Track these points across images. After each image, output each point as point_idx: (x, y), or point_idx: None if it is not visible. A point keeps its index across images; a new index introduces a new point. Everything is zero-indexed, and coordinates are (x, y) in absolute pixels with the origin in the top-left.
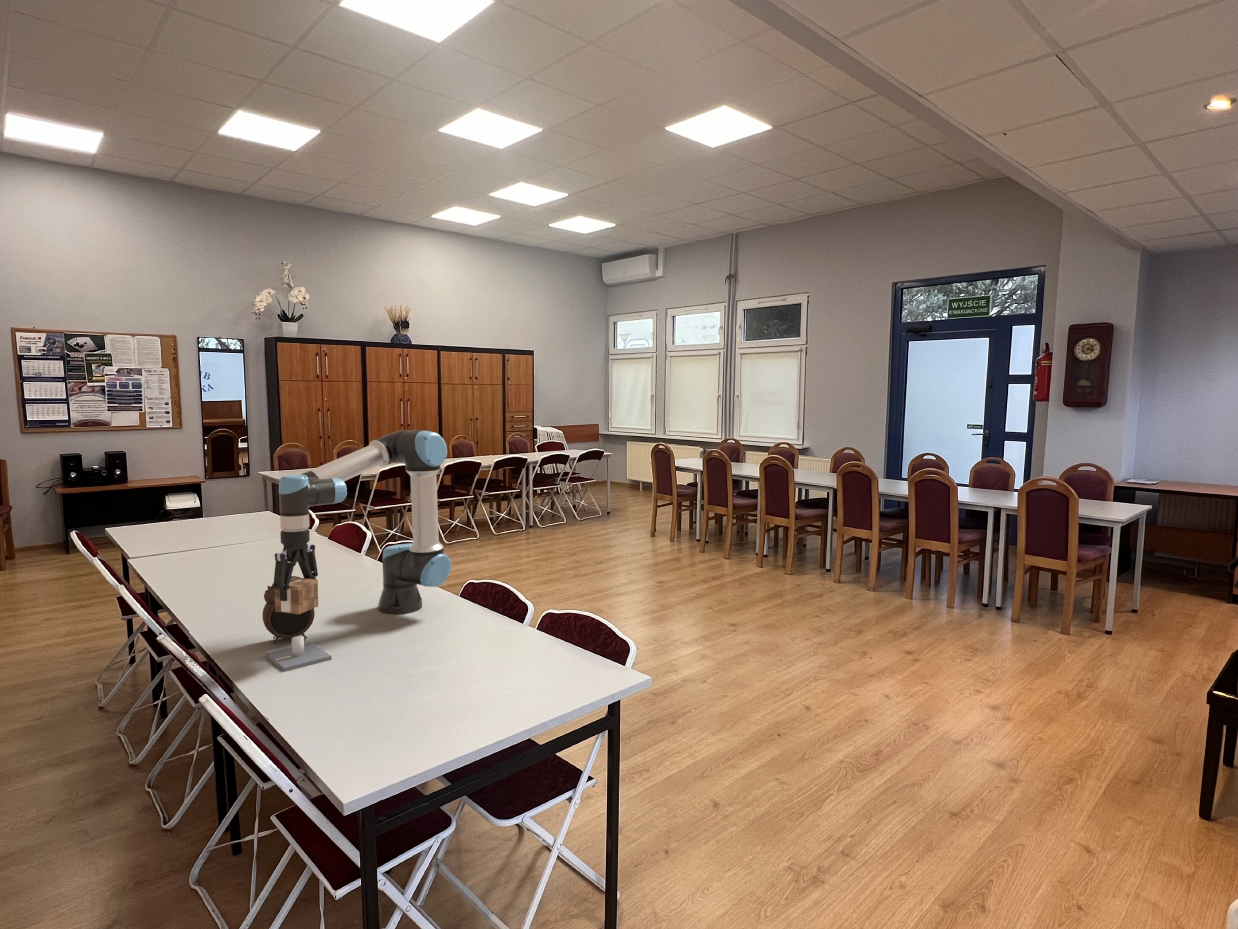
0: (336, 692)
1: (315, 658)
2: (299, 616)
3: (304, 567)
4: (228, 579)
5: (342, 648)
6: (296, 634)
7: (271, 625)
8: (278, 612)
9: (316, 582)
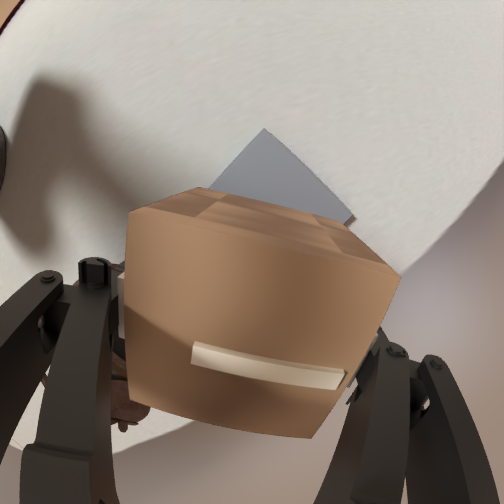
0: (435, 68)
1: (286, 162)
2: None
3: (102, 405)
4: (30, 423)
5: (183, 138)
6: None
7: None
8: None
9: (155, 211)
